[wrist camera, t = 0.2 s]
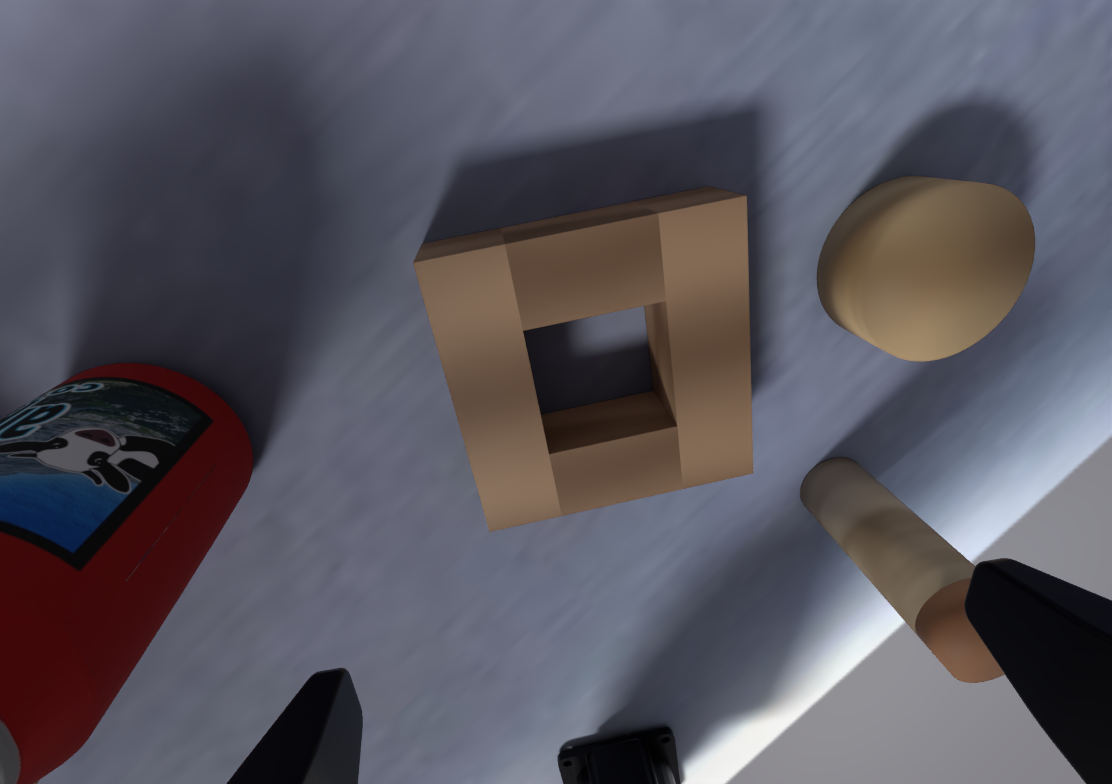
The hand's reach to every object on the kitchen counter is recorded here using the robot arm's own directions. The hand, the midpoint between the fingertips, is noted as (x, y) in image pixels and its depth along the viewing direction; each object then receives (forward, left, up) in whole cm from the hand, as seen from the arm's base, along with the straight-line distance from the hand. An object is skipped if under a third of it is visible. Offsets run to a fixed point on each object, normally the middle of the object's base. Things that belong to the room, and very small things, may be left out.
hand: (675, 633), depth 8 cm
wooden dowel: (-10, -11, -14) cm, 21 cm away
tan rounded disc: (0, -13, -15) cm, 20 cm away
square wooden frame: (-1, -1, -14) cm, 14 cm away
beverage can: (-1, +15, -15) cm, 21 cm away
